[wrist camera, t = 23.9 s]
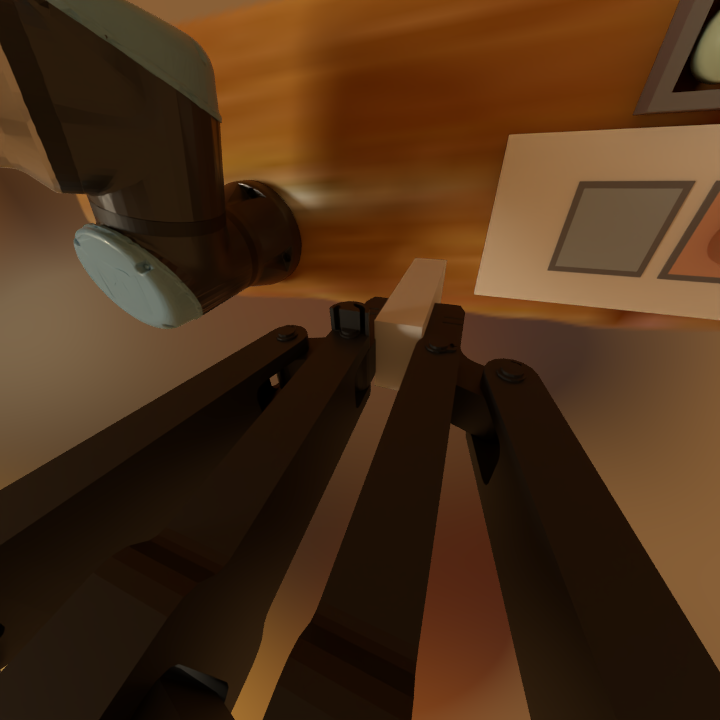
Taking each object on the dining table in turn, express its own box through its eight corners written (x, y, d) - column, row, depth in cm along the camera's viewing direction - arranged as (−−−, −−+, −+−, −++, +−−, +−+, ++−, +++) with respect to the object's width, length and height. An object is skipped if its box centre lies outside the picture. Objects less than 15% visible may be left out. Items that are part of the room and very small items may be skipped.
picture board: (474, 290, 39) (474, 295, 38) (508, 134, 29) (509, 134, 28) (743, 318, 31) (752, 324, 30) (922, 114, 21) (945, 112, 20)
